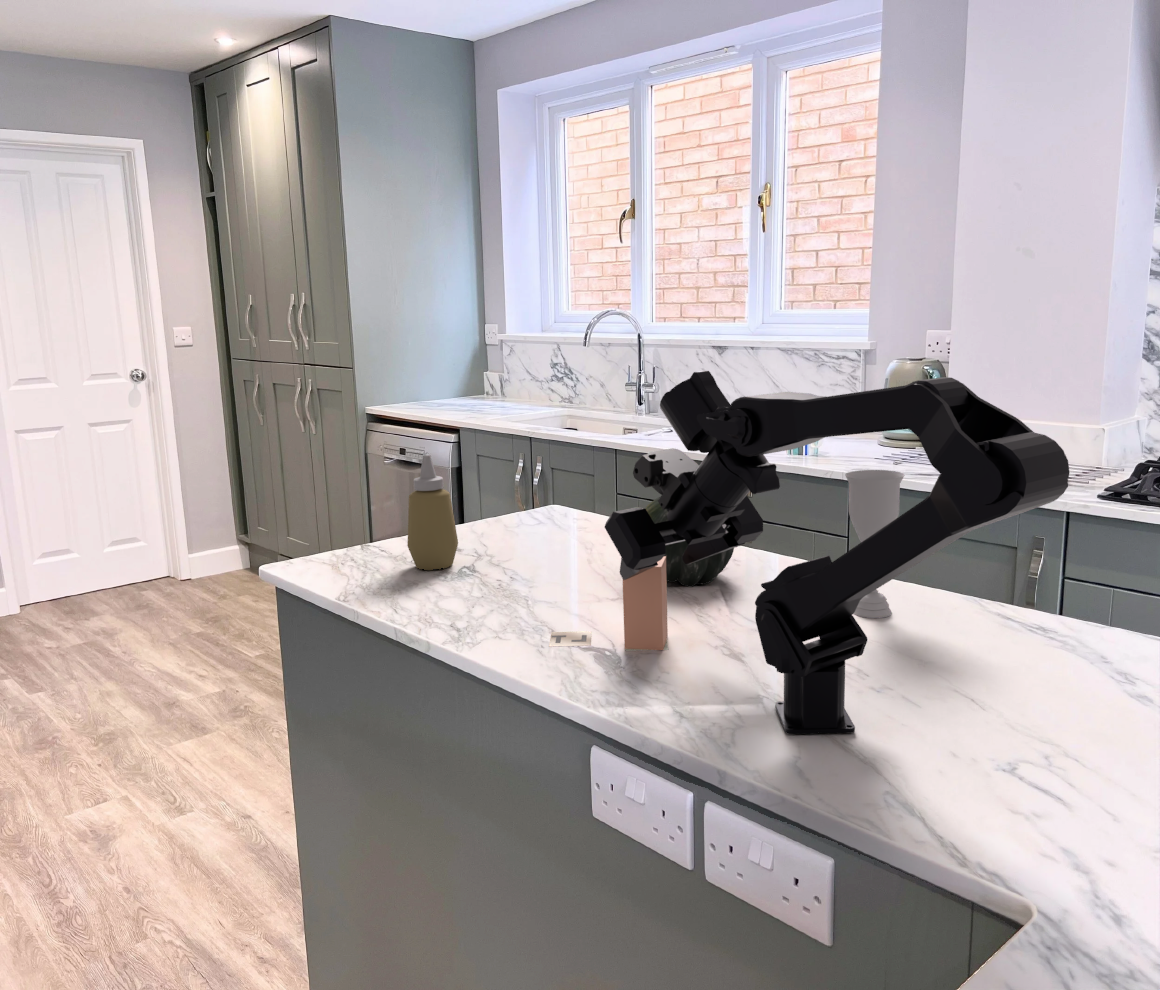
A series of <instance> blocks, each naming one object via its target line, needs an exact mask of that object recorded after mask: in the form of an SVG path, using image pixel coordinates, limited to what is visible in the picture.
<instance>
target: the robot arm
mask: <svg viewBox="0 0 1160 990" xmlns="http://www.w3.org/2000/svg"><path fill="white" fill-rule="evenodd" d="M663 394H664V395H663V396H662V397H661V399H660V401H659V407H660V410H661V412H662V413H663V415H664V416H665V417H666V420H667V421H668V422H669V424H670V426H671V427H672V429H673V430H674V432H675V433H676V435H677V437H678V438H679V440H680V441H681V443H682V444H683V445H684V447H685V449H686V450H687V451H688V452H689V451H690V452H698V451H699V452H700V453H703V454H706V456H705V457H704V458H703V460H702V461H700V464H698V463H697V462H696V461H695V460H693V458H691V457H690V456H688V454H686V453H685V452H684V451H682V450H681V449H678V448H666V449H659V450H653V451H649V452H647V453H646V454H642V455H641V456H640V457H639V458H638V460H637V461H635V464H634V468H633V472H632V475H633V478H634V479H635V480H636V481H637V482H638V483H639V484H640V485H642V487H644V488H650V487H651V488H653V490H655V491H656V492H657V493H658V494H660V495H661V496H659V497H660V498H659V497H658V498H659V500H658V502H659V504H660V506H661V507H662V509H663V510H665V509H667V511H668V513H667V518H668V521H665V522H660V523H655V524H654V522H653V520H652V519H651V517H650V515H649V514H648V512H647V510H646V509H645V508H646V507H645V508H643V507H639V506H637V507H631V508H626V509H621V510H616V511H612V512H611V513H610V515H609V517H608V518H607V520H606V521H605V524H604V529H605V530H606V532H607V534H608V536H609V538H610V540H611V541H612V543H613V545H614V547H615V548H616V551H617V552H618V553H619V556H620V557H621V558H620V566H619V575H620V577H621V578H622V581H623V580H626V579H629V578H631V577H633V576H636V575H638V574H640V573H642V572H644V571H646V570H648V569H651V568H653V567H655V566H657V565H658V563H657V562H658V561H660V560H661V559H662V558H663V557H664V555H665V554H666V548H665V545H668V544H673V543H677V542H682V541H686V542H687V544H688V546H687V548H686V550H685V552H684V554H683V556H682V560H683V561H684V563H685V564H686V565H687V564H691V563H693V562H696V561H699V560H702V559H704V558H707V557H710V556H713V555H715V554H718V553H721V552H724V551H727V550H729V549H732V548H734V549H735V548H737V547H741V546H744V545H745V544H746V543H751V542H754V541H756V540H757V539H758V538H759V537H760V536H761V534H762V533H763V532H764V520H763V518H762V516H761V514H759V512H758V510H757V509H756V507H755V505H754V504H753V503H752V501H751V499H750V498H749V497H748V494H749V493H751V494H752V495H759V494H763V493H767V492H773V491H777V490H780V487H781V484H780V477H779V475H778V474H777V465H776V464H775V463H770V462H769V460H768V459H767V458H766V456H765V455H768V454H773V453H774V454H775V453H779V452H786V451H791V450H795V449H799V448H802V447H804V446H807V445H811V444H813V443H817V442H818V441H821V440H823V439H825V438H828V437H829V438H830V437H840V436H851V435H861V434H869V433H870V434H872V433H879V432H892V431H901V430H910V431H911V432H912V433H913V434H915V436H916V437H917V438H918V439H919V441H920V444H921V446H922V447H923V450H924V452H925V454H926V457H927V459H928V460H929V463H930V465H931V466H932V467H933V468H934V469H935V470H936V471H937V472H938V473H940V474H939V475H938V477H937V479H936V480H935V483H934V485H933V487H932V489H931V491H930V493H929V495H927V496H926V498H924V499H923V500H921V501H920V502H919V503H917V504H916V505H914V506H913V507H911V508H910V509H909V510H907V511H905V512H903V514H900V515H898V517H897V518H896V519H895V520H894V521H892V522H891V523H889V524H888V525H886V526H885V527H883V528H882V529H880V530H879V531H877V532H876V533H874V534H873V535H871V536H870V537H869V538H867V539H866V540H864V541H863V542H861V541H860V543H858V544H857V545H855V546H854V547H853V548H851V549H849V550H848V551H847V552H845V553H844V554H842V555H841V556H839V557H837V558H836V559H834V560H832V559H831V556H830V555H826V556H821V557H817V558H814V559H810V560H807V561H803V562H800V563H796V564H792V565H788V566H787V567H786V568H784V569H783V570H782V571H780V572H779V574H778V575H777V576H776V577H775V578H774V579H773V580H770V581H766V582H762V583H760V587H761V588H762V589H763V591H762V592H760V593H759V594H758V596H757V597H756V599H755V601H754V605H755V617H754V618H755V624H756V628H757V632H758V635H759V639H760V643H761V647H762V651H763V655H764V658H765V662H766V664H767V665H769V666H772V667H774V668H775V669H776V672H777V673H779V674H783V700H782V701H776V702H774V703H775V705H774V708H775V710H776V713H777V715H778V717H779V720H780V724H781V725H782V727H783V729H784V732H785V733H786V734H788V735H789V734H790V735H794V734H795V735H799V734H803V735H804V734H805V735H807V734H808V735H809V734H810V735H811V734H845V733H846V734H847V733H849V734H851V733H854V732H855V731H856V726H855V724H854V722H853V720H852V719H851V717H850V715H849V713H848V712H847V710H846V708H845V696H846V695H845V694H846V693H845V692H846V691H845V690H846V688H845V687H846V661H848V660H850V659H852V658H857V657H860V656H863V654H864V651H865V648H866V646H867V643H868V637H867V635H866V633H865V632H864V631H863V629H862V628H861V626H860V624H859V623H858V621H857V620H856V618H855V617H854V615H855V614H854V612H855V610H856V608H857V606H858V604H859V601H860V600H861V599H862V598H863V597H864V596H866V595H868V594H869V593H871V592H872V591H874V590H876V589H877V590H878V589H879V588H881V587H883V586H884V585H886V584H887V583H889V582H890V581H892V580H894V579H895V578H897V577H898V576H900V575H901V574H902V575H903V573H905V572H907V571H908V570H910V569H912V568H913V567H915V566H916V565H918V564H920V563H922V562H923V561H924V560H927V559H929V557H931V556H933V555H934V554H936V553H937V552H939V551H941V550H943V549H944V548H947V546H949V545H950V544H952V543H954V542H955V541H957V540H959V539H960V538H963V536H965V535H967V534H969V533H970V532H972V531H974V530H976V529H980V528H983V527H986V526H989V525H991V524H994V523H996V522H1000V521H1003V520H1006V519H1009V518H1013V517H1015V516H1017V515H1020V514H1023V513H1025V512H1028V511H1031V510H1034V509H1037V508H1039V507H1043V506H1046V505H1049V504H1051V503H1052V502H1055V501H1057V500H1058V499H1059V498H1060V497H1061V496H1062V495H1064V493H1065V492H1066V490H1067V488H1068V487H1069V483H1068V482H1069V478H1070V477H1069V476H1070V467H1069V465H1070V464H1069V459H1068V457H1067V456H1066V455H1067V454H1065V451H1064V449H1063V448H1062V447H1061V446H1060V444H1059V443H1058V442H1057V441H1056V440H1054V439H1052V438H1051V437H1049V436H1048V435H1046V434H1042V433H1037V432H1035V431H1034V430H1033V429H1031V428H1030V427H1029V426H1027V424H1025V423H1024V422H1023V421H1022V420H1020V419H1019V418H1018V417H1016V416H1014V415H1012V414H1011V413H1008V412H1006V411H1004V410H1003V409H1002V408H1000V407H997V406H995V405H994V404H992V403H990V402H988V401H986V400H985V399H983V398H981V397H979V396H978V395H977V394H976V393H975V392H973V391H972V390H971V388H969V387H968V386H967V385H965V384H964V383H962V382H961V381H959V380H958V379H956V378H953V377H949V376H946V377H945V376H943V377H942V376H941V377H935V378H926V379H918V380H914V381H912V382H910V383H908V384H906V385H899V386H898V385H897V386H892V387H891V386H890V387H887V388H878V389H871V390H865V391H864V390H863V391H857V392H851V393H845V394H844V393H843V394H836V395H830V396H827V395H825V396H824V395H816V394H814V393H807V392H796V391H795V392H793V391H781V392H773V393H765V394H756V395H747V396H741V397H738V398H736V399H734V400H733V401H732V402H731V403H730V401H728V399H727V398H726V396H725V394H724V393H723V392H722V390H721V389H720V387H719V385H718V384H717V381H716V380H715V378H714V376H713V374H712V372H710V371H709V370H702V371H701V370H700V371H693V372H692V374H691V376H690V377H689V378H687V379H686V380H683V381H681V382H680V383H678V384H676V385H675V386H674V387H672V388H671V389H670V390H669V391H667V392H665V393H663ZM818 637H819V639H817V638H818ZM812 639H816V640H813V641H810V642H808V643H804V642H807V641H809V640H812Z"/></svg>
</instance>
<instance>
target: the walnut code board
mask: <svg viewBox="0 0 1160 990" xmlns="http://www.w3.org/2000/svg"><path fill="white" fill-rule="evenodd" d="M592 633H593V631H592V630H589V631H588V630H583V631H579V630H578V631H551V633H550V638H549V644H548V645H549V646H548V647H550V648H552V647H584V646H585V647H587V646H589V647H590V646H592V637H593V634H592ZM668 645H669V644H668V639H667V640H666V643H665V646H664V649H663V650H662V651H669V647H668ZM624 650H625V652H631V651H632V652H633V651H635V652H636V651H638V652H639V651H646V650H645V649H625V648H624Z"/></svg>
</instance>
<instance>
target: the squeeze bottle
mask: <svg viewBox="0 0 1160 990" xmlns="http://www.w3.org/2000/svg"><path fill="white" fill-rule="evenodd" d="M421 460H422V461H421V467H420V473H419V474H420V475H419V476H418V477H415V478H413V489H414V491H412V492H411V493H410V494H409V495H408V507H407V508H408V515H407V516H408V517H407V548H408V551H409V553H410V556H411V558H412V561H413V563H414V565H415V567H416V568H417V569H418V568H419V570H422V569H424V570H425V571H434V570H433V569H439V570H442V569H441V568H443V569H447V568H450V567H451V566H452V565H453V564H454V560H455V557H456V554H457V549H458V546H459V539H458V534H457V528H456V522H455V516H454V509H453V503H452V498H451V493H450V492H449V491H448V490H447V489H443V488H444V484H445V483H444V477H443V476H439V475H437V473H436V470H435V467H434V464H433V460H432V457H431V455H430V454H424V455H422V459H421ZM449 566H450V567H449Z"/></svg>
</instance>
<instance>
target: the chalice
mask: <svg viewBox="0 0 1160 990" xmlns="http://www.w3.org/2000/svg"><path fill="white" fill-rule="evenodd" d="M904 477H905V473H903V472H901V471H894V470H889V469H887V470H886V469H885V470H884V469H883V470H882V469H867V470H865V469H864V470H855V471H853V470H852V471H850V472H849V471H848V472H846V473H845V478H846V480H847V482H848V485H849V487H848V488H849V489H848V515H849V517H850V520H851V523H852V526H853V529H854V531H855V533H856V535H857V537H858V540H859V541H860V543H861V542H863V541H864V540H866V539H867V538H869V537H870V536H871V535H873V534H874V533H876V532H877V531H879V530H880V529H882V528H883V527H885V526H886V525H888V524H889V523H891V522H892V521H894V520H895V519H896V518H898V517H899V516H900V500H901V499H900V493H901V492H900V491H901V489H900V487H901V484H902V483H901V482H902V481H903V479H904ZM892 613H893V612H892V610H891V608H890V604H889V603H888V601H887V598H886V595H884V593H881V592H879V590H878V588H877V589H876V590H874V591H872V592H871V593H869V594H868V595H866V596H864V597H863V598H862V599H861V600H860V601H859V604H858V606H857V608H856V610H855V612H854V614H853V615H855V616H858V617H861V618H868V619H879V618H880V619H881V618H888V617H889V616H891V615H892Z"/></svg>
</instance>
